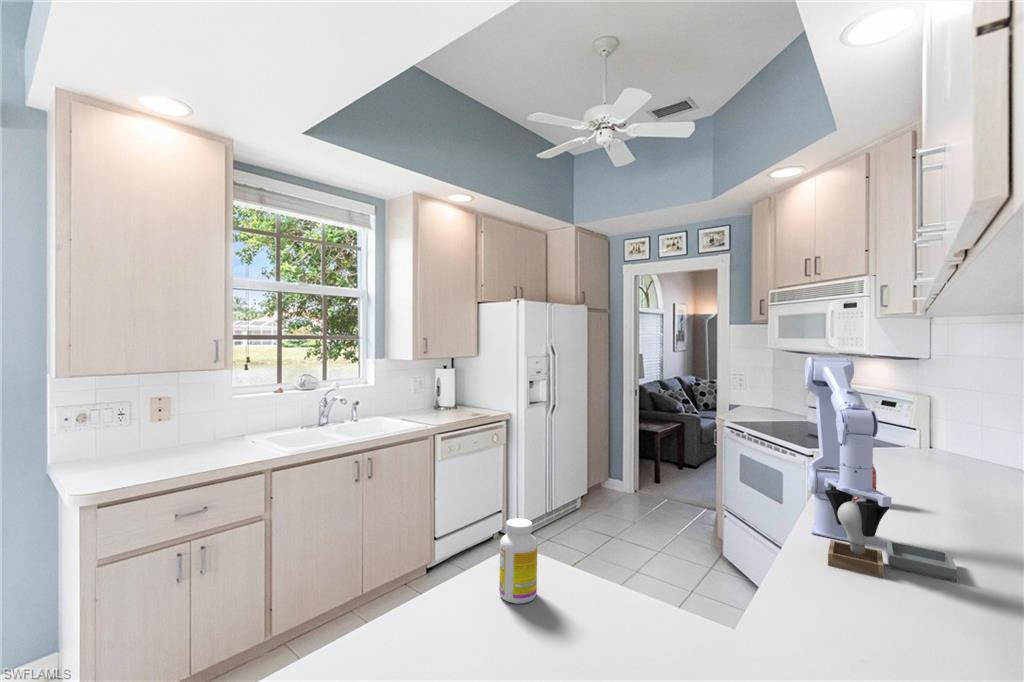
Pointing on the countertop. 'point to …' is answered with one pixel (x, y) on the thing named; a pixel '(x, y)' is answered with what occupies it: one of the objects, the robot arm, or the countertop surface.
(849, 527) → the lightbulb
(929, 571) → the parts tray
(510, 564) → the supplement bottle
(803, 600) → the countertop surface
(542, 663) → the countertop surface
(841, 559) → the holder collar
